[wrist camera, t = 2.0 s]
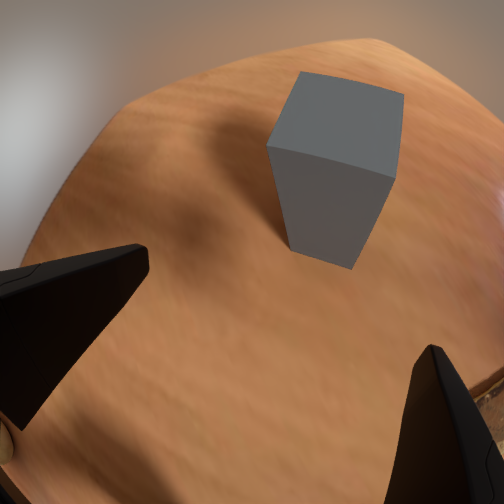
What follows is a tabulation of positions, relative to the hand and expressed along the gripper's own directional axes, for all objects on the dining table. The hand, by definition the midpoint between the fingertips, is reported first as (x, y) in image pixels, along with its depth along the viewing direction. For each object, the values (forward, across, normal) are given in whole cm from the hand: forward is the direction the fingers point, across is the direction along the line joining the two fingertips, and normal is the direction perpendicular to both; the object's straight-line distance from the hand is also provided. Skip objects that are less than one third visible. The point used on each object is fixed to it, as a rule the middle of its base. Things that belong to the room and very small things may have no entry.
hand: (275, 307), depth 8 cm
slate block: (+15, 0, +4) cm, 16 cm away
